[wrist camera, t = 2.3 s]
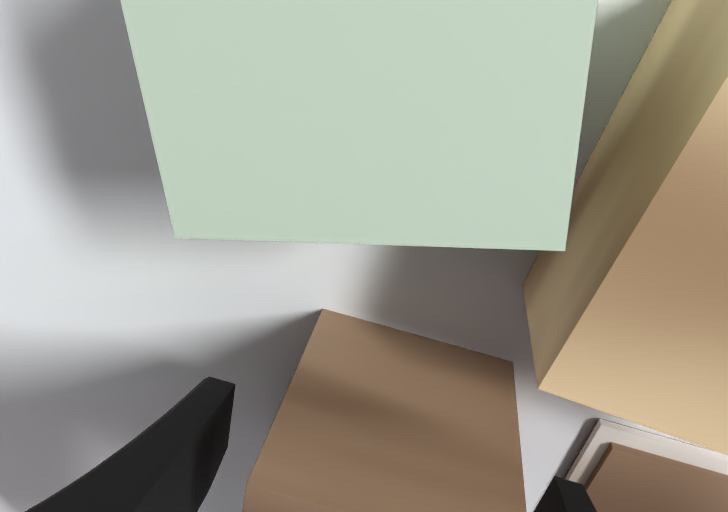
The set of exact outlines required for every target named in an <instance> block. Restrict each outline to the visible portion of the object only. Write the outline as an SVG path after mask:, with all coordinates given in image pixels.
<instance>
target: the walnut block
mask: <svg viewBox="0 0 728 512" xmlns="http://www.w3.org/2000/svg"><path fill="white" fill-rule="evenodd" d="M242 512H526V502H525V491H524V480H523V469H522V458H521V447H520V436H519V425H518V414H517V403H516V392H515V381H514V370H513V362H511V361H507V360H504V359H500V358H497V357H493V356H490V355H486V354H483V353H479V352H475V351H472V350H468V349H465V348H461V347H458V346H454V345H450V344H447V343H443V342H440V341H436V340H433V339H429V338H426V337H422V336H418V335H415V334H411V333H408V332H404V331H401V330H397V329H393V328H390V327H386V326H383V325H379V324H376V323H372V322H369V321H365V320H361V319H358V318H354V317H351V316H347V315H344V314H340V313H336V312H333V311H329V310H326V309H322V312H321V314H320V316H319V318H318V321H317V323H316V325H315V328H314V330H313V332H312V334H311V337H310V339H309V341H308V344H307V346H306V348H305V351H304V353H303V355H302V357H301V360H300V362H299V364H298V367H297V369H296V371H295V373H294V376H293V378H292V380H291V383H290V385H289V387H288V389H287V392H286V394H285V396H284V399H283V401H282V403H281V406H280V408H279V410H278V412H277V415H276V417H275V419H274V422H273V424H272V426H271V428H270V431H269V433H268V435H267V438H266V440H265V442H264V444H263V447H262V449H261V451H260V454H259V456H258V458H257V461H256V463H255V465H254V467H253V470H252V472H251V474H250V477H249V479H248V481H247V485H246V491H245V498H244V504H243V510H242Z"/></svg>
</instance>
